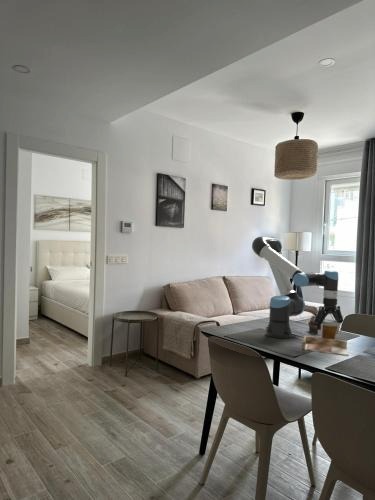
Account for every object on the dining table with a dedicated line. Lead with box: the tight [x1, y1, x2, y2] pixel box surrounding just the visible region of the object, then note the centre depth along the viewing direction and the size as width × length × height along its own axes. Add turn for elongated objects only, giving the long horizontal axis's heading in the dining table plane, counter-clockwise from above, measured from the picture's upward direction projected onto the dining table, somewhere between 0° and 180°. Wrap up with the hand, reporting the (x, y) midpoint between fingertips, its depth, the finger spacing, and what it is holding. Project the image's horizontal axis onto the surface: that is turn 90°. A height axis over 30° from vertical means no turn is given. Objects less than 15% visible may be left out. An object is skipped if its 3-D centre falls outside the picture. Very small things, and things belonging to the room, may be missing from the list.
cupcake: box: [307, 315, 318, 334], centre depth 229 cm, size 10×10×10 cm
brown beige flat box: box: [302, 335, 349, 357], centre depth 189 cm, size 22×15×4 cm
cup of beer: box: [321, 318, 338, 340], centre depth 205 cm, size 10×10×12 cm
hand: (328, 334), depth 205 cm, fingers open, 12 cm apart
